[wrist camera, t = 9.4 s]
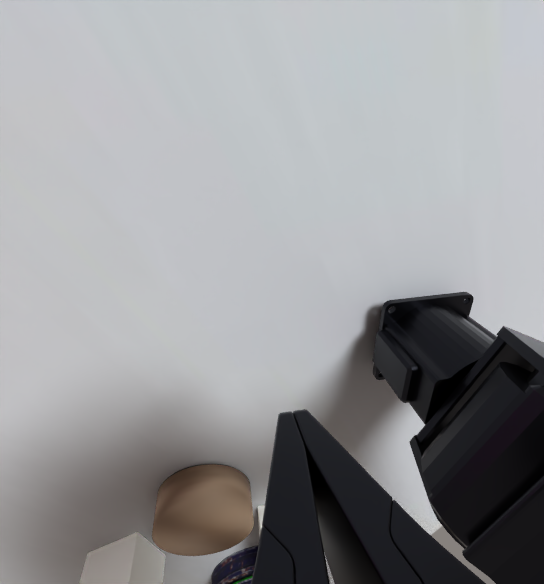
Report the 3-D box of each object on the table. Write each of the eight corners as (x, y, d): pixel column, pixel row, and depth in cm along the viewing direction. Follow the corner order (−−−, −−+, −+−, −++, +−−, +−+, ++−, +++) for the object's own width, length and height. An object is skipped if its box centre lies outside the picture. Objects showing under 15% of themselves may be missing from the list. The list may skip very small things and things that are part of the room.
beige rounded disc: (199, 452, 26) (198, 489, 24) (268, 483, 30) (273, 519, 27) (137, 502, 28) (130, 542, 26) (209, 526, 32) (209, 563, 29)
